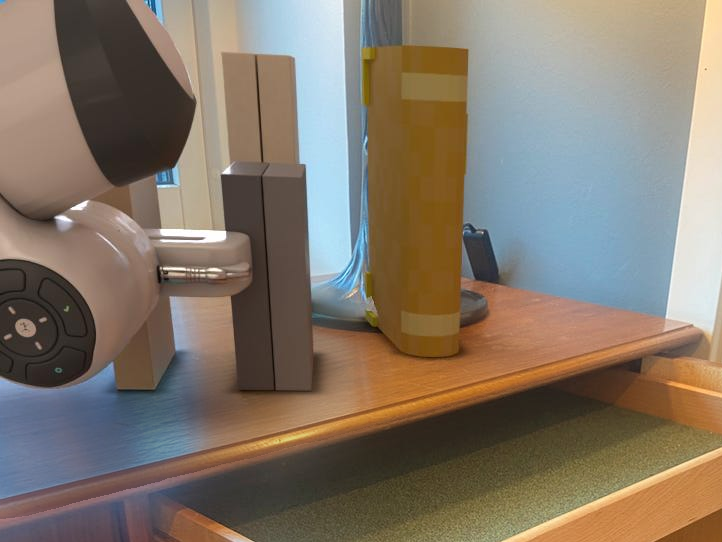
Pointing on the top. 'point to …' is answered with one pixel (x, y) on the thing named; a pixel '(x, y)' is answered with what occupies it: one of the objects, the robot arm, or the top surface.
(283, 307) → the grey books
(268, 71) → the cream books
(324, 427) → the top surface
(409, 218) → the book
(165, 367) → the cream book
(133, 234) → the robot arm
